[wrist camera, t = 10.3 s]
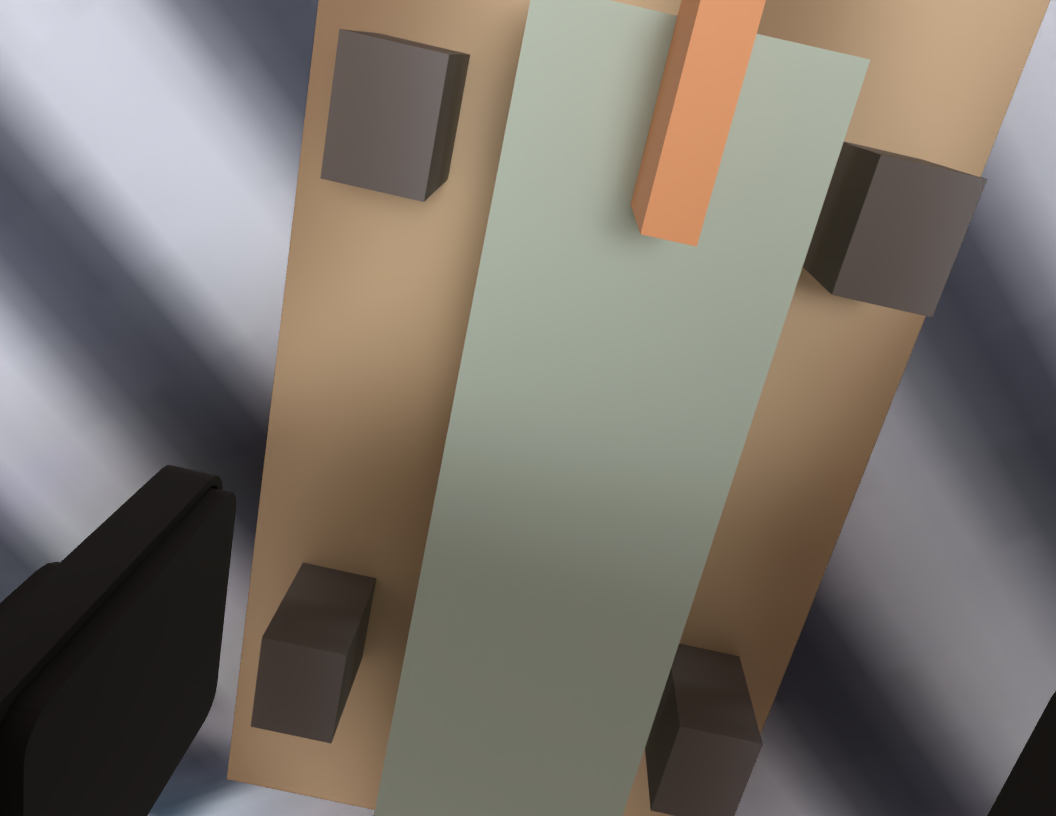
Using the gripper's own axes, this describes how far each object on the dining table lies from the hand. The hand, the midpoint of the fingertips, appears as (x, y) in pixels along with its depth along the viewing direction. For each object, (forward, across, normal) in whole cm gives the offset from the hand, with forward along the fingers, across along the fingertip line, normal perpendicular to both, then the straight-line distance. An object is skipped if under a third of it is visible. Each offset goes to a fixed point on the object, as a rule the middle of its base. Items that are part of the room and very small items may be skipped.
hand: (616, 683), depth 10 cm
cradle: (+8, +1, 0) cm, 8 cm away
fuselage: (+7, +1, 0) cm, 7 cm away
